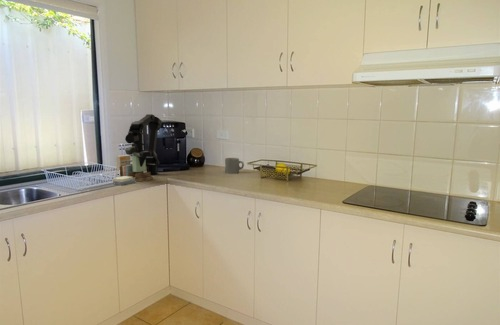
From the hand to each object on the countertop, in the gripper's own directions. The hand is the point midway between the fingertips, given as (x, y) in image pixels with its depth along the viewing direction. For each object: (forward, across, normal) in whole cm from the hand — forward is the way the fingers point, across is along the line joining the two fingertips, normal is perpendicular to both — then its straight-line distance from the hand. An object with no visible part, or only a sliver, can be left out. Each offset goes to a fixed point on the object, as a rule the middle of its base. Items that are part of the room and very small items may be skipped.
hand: (139, 166), depth 219 cm
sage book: (+3, 0, 0) cm, 3 cm away
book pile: (+8, +4, -13) cm, 16 cm away
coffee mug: (+9, +30, +58) cm, 66 cm away
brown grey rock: (+8, -4, 0) cm, 9 cm away
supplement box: (+9, -24, +4) cm, 26 cm away
